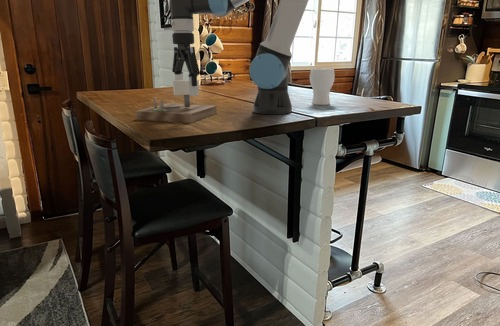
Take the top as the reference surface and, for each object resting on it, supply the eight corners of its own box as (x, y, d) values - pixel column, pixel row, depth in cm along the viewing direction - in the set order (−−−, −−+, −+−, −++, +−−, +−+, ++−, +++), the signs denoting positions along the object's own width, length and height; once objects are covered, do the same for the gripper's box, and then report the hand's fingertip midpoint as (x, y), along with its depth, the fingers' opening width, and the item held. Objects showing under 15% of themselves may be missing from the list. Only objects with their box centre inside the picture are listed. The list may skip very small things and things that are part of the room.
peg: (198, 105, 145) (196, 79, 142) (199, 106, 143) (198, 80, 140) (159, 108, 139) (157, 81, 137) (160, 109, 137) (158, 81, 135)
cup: (333, 105, 163) (335, 69, 159) (308, 105, 165) (309, 69, 161) (333, 102, 173) (335, 68, 169) (309, 101, 175) (310, 68, 171)
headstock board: (216, 113, 148) (215, 95, 146) (190, 123, 130) (189, 102, 128) (167, 110, 155) (166, 93, 153) (136, 119, 137) (134, 99, 135)
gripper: (161, 33, 143) (165, 91, 149) (186, 31, 122) (190, 98, 129) (180, 33, 147) (183, 89, 153) (207, 31, 126) (210, 96, 132)
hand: (186, 93), depth 141 cm, fingers open, 13 cm apart
